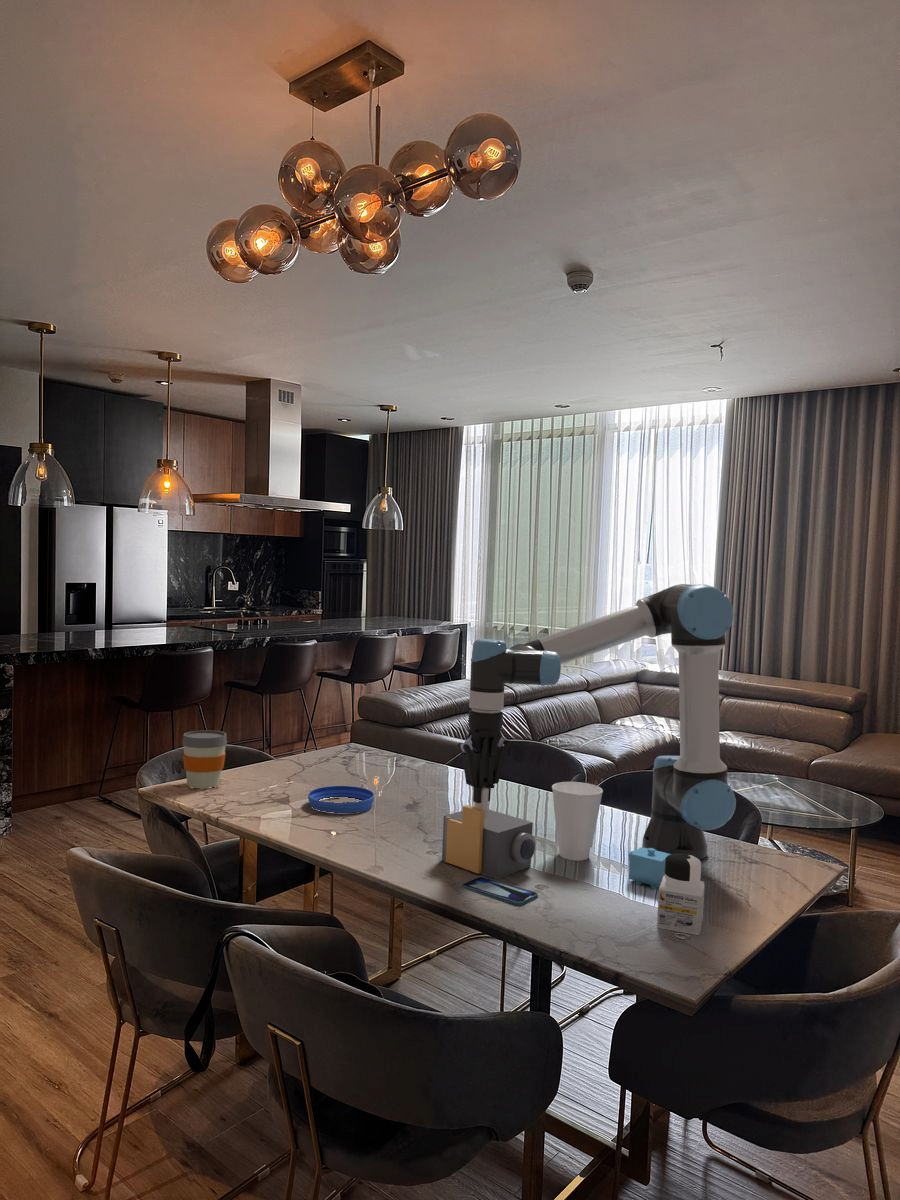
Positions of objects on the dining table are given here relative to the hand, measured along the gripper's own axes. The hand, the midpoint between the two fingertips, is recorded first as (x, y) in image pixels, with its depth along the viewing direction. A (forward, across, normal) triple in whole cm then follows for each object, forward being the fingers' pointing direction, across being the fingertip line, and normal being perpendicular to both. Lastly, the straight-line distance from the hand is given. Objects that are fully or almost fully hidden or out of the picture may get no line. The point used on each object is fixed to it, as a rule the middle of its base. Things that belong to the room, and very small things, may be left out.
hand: (480, 816), depth 183 cm
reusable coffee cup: (+12, +27, -95) cm, 100 cm away
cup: (+12, -25, +4) cm, 28 cm away
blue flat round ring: (+12, +2, -58) cm, 59 cm away
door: (+11, +3, -2) cm, 12 cm away
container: (+12, -15, +43) cm, 47 cm away
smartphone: (+12, +4, +12) cm, 18 cm away
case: (+12, -4, -1) cm, 12 cm away
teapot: (+12, -27, +26) cm, 40 cm away
